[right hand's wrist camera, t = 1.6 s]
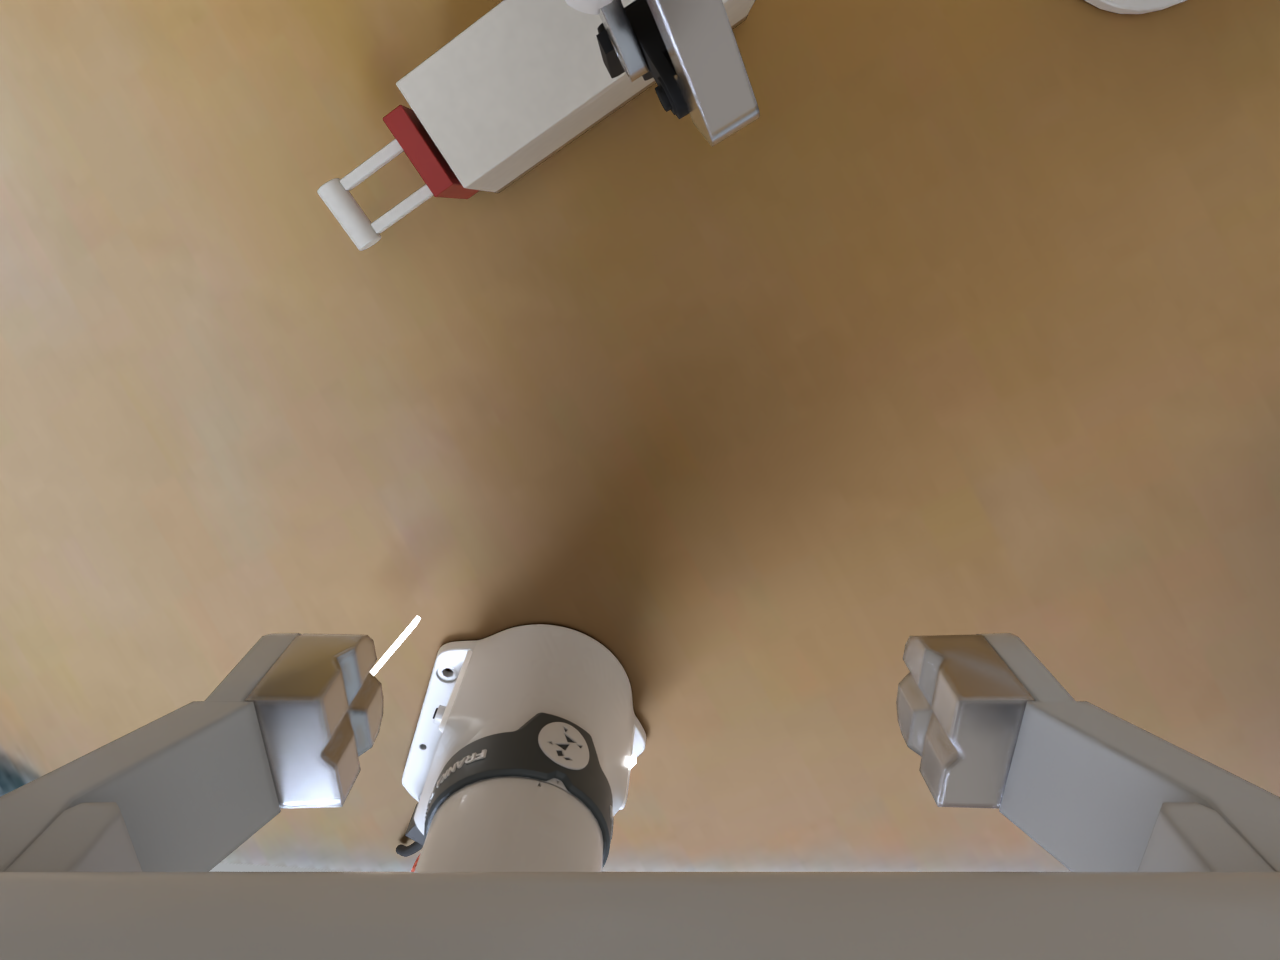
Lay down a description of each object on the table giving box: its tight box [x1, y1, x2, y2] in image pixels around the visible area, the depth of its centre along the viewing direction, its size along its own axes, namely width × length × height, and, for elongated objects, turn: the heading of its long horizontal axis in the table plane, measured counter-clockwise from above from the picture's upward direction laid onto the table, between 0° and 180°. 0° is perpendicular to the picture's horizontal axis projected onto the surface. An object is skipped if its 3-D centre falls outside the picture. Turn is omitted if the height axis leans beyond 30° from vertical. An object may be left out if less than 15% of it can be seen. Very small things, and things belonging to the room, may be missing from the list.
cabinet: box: [396, 0, 755, 193], centre depth 36 cm, size 18×6×9 cm, turn 122°
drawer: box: [317, 105, 480, 251], centre depth 37 cm, size 22×4×7 cm, turn 122°
